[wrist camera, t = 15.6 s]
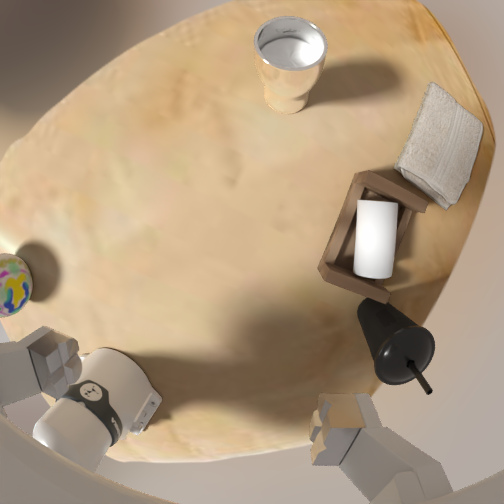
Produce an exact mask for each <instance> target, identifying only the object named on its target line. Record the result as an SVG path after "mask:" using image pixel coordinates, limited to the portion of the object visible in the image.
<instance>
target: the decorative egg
mask: <svg viewBox="0 0 504 504" xmlns="http://www.w3.org/2000/svg"><path fill="white" fill-rule="evenodd" d="M32 289H33V281H32V276H31V273H30V270H29V268H28V266H27V264H26V263H25V262H24V261H23V260H22V259H21V258H19V257H17V256H15V255H13V254H7V253H3V254H0V318H1V317H8V316H11V315H13V314H15V313H17V312H19V311H20V310H21V309H22V308H23V307H24V306H25V305H26V304H27V302H28V300H29V299H30V296H31V293H32Z"/></svg>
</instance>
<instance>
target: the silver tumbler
mask: <svg viewBox="0 0 504 504" xmlns="http://www.w3.org/2000/svg"><path fill="white" fill-rule="evenodd" d="M327 49H328V44H327V39H326V37H325V35H324V33H323V32H322V31H321V29H320V28H319V27H317V26H316V25H315V24H313V23H312V22H310V21H308V20H306V19H303V18H299V17H294V16H282V17H277V18H273V19H271V20H269V21H267V22H265V23H264V24H262V25H261V26H260V27H259V29H258V30H257V32H256V34H255V37H254V59H255V66H256V70H257V73H258V75H259V77H260V79H261V81H262V83H263V84H264V86H265V88H264V99H265V101H266V103H267V105H268V106H269V107H270V108H271V109H273V110H274V111H276V112H278V113H282V114H292V113H296V112H298V111H300V110H301V109H302V108H303V107H304V106H305V105H306V103H307V101H308V91H309V90H310V89H311V88H312V87H313V86H314V85H315V84H316V82H317V81H318V79H319V77H320V75H321V73H322V71H323V67H324V64H325V59H326V53H327Z"/></svg>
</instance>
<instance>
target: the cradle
mask: <svg viewBox="0 0 504 504" xmlns="http://www.w3.org/2000/svg"><path fill="white" fill-rule="evenodd" d="M357 200H374V201H386V202H394V203H398V214H397V230H396V243H395V253H394V257H395V255H396V252H397V250H398V248H399V245H400V243H401V240H402V238H403V235H404V233H405V230H406V227H407V225H408V222H409V219H410V217H411V214H412V211H415V212H421V213H425V211H426V208H427V205H428V202H427V201H426V200H424V199H422V198H420V197H419V196H417V195H415V194H413V193H412V192H410V191H408V190H406V189H404V188H402V187H401V186H399V185H397V184H395V183H393V182H391V181H389V180H387V179H385V178H383V177H381V176H379V175H377V174H375V173H373V172H371V171H369V170H368V171H364V172H359V173H355V175H354V178H353V180H352V183H351V186H350V188H349V191H348V194H347V196H346V199H345V202H344V204H343V207H342V209H341V212H340V215H339V217H338V220H337V222H336V225H335V227H334V230H333V232H332V235H331V237H330V239H329V242H328V244H327V247H326V249H325V251H324V254H323V256H322V258H321V261H320V263H319V265H318V270H319V272H320V274H321V275H322V277H323V279H324V281H326V282H329V283H331V284H334V285H336V286H339V287H342V288H344V289H347V290H350V291H352V292H355V293H357V294H360V295H363V296H365V297H368V298H371V299H373V300H376V301H378V302H381V303H384V304H386V303H387V301H388V299H389V297H390V295H391V293H390V292H389V291H387V290H386V289H385V288H384V287H383V286H382V284H383V282H384V280H385V278H383V279H376V278H367V277H363V276H359V275H357V274H355V273H354V272H353V266H354V254H355V241H356V224H357Z"/></svg>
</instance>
